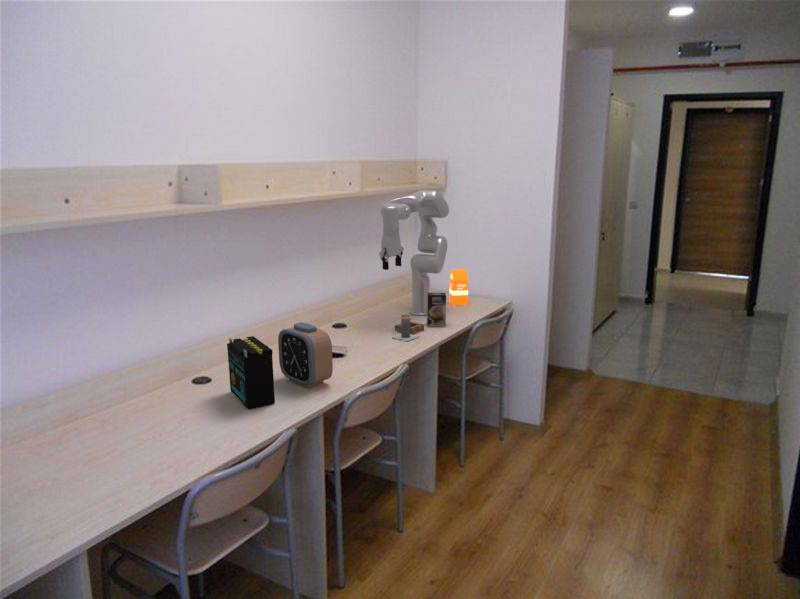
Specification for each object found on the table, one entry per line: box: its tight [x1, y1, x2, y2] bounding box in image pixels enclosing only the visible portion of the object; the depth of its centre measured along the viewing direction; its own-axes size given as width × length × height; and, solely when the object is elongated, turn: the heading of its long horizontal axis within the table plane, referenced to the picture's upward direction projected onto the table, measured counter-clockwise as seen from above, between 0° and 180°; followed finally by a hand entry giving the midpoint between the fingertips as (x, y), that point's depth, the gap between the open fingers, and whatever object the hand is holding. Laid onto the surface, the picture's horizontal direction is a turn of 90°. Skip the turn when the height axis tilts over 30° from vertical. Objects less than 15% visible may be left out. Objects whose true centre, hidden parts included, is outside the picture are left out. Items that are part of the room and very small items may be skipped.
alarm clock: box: [277, 322, 334, 389], centre depth 225 cm, size 21×10×22 cm, turn 45°
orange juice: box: [448, 268, 469, 307], centre depth 344 cm, size 8×9×20 cm
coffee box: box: [426, 292, 447, 328], centre depth 301 cm, size 9×6×16 cm
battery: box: [226, 335, 276, 410], centre depth 211 cm, size 19×10×20 cm, turn 32°
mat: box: [391, 333, 420, 342], centre depth 282 cm, size 9×9×1 cm
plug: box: [400, 313, 411, 338], centre depth 280 cm, size 4×4×10 cm
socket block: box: [394, 321, 425, 335], centre depth 293 cm, size 10×10×3 cm
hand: (392, 267), depth 292 cm, fingers open, 9 cm apart
